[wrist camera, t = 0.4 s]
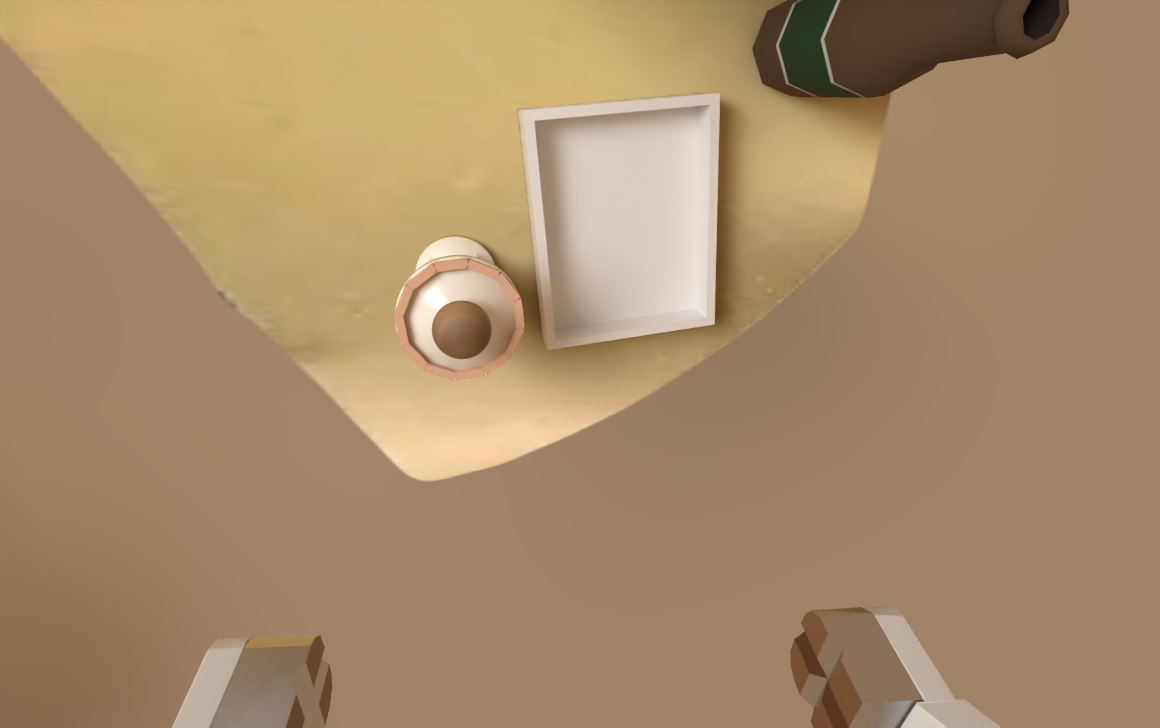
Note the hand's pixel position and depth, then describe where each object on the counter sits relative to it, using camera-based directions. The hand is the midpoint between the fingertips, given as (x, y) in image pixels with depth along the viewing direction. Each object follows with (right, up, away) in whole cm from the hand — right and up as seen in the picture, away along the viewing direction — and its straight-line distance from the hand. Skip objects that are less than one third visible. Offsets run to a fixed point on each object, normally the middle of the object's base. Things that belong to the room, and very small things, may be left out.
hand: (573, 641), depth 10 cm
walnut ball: (-8, +7, +31) cm, 32 cm away
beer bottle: (+18, +32, +41) cm, 55 cm away
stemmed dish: (-11, +13, +43) cm, 46 cm away
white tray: (+4, +18, +44) cm, 48 cm away
